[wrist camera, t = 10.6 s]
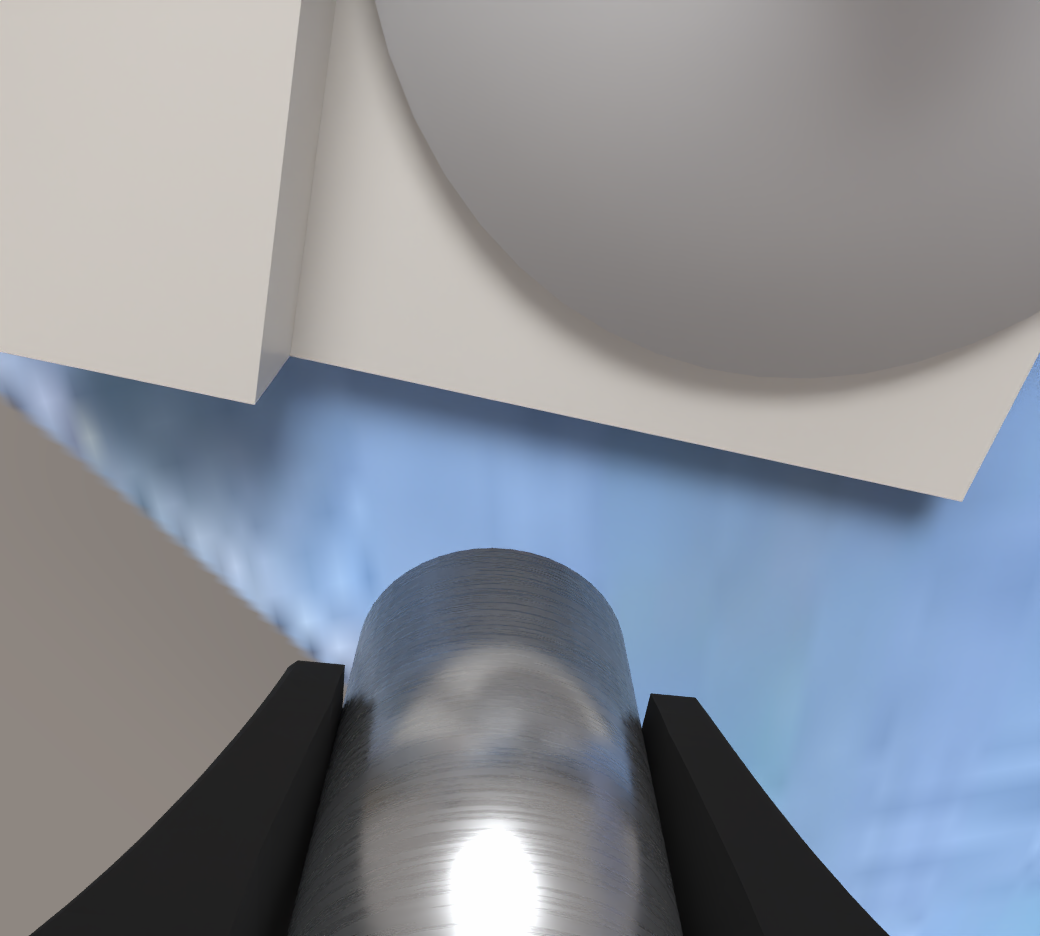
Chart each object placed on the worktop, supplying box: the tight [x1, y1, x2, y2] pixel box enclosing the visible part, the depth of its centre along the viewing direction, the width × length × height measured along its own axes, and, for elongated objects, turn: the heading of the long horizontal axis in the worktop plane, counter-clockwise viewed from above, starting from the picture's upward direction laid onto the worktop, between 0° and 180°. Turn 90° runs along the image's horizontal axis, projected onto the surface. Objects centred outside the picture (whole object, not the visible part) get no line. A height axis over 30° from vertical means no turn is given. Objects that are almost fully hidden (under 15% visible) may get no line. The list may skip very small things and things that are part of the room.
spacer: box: [287, 548, 683, 936], centre depth 10 cm, size 4×4×6 cm
